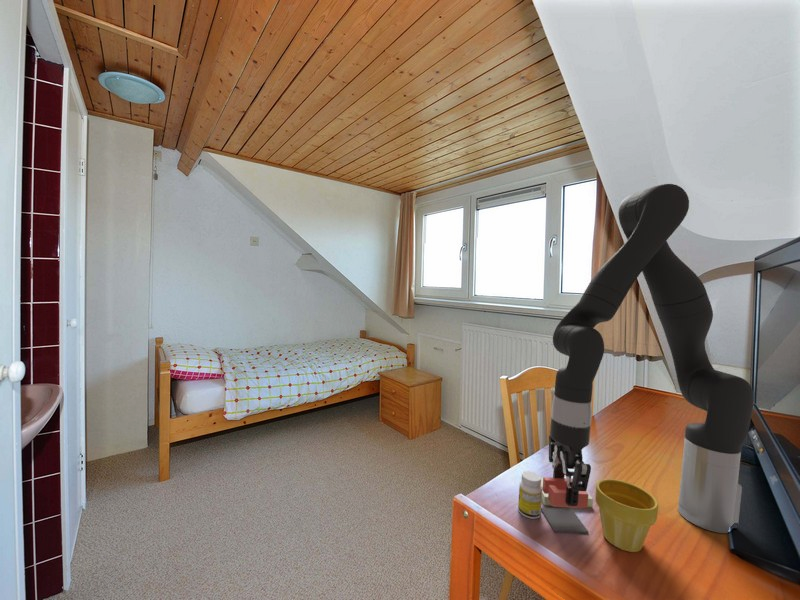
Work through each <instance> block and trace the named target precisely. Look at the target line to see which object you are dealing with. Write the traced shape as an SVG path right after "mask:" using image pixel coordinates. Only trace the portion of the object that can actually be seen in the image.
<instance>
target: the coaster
mask: <svg viewBox="0 0 800 600" xmlns="http://www.w3.org/2000/svg"><path fill="white" fill-rule="evenodd" d="M541 513H542V514H543V516H544V518H545V519H546V521H547V522H548V524H549V526H550V527H551V529H552V530H553V532H554V533H565V534H566V533H568V534H569V533H570V534H589V530H588V529H587V528H586V526H585V525H584V523H583V522H582V520H581V519H580V518H579V517H578V515H577V514H576V513H575V511H574V510H573V508H563V507H541Z"/></svg>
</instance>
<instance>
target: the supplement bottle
mask: <svg viewBox="0 0 800 600" xmlns="http://www.w3.org/2000/svg"><path fill="white" fill-rule="evenodd" d="M520 479H521V480H520V482H519V486H518V487H519V488H518V489H519V490H518V493H519V494H518V507H517V509H518V512H519V513H520V515H522V516H523V517H525V518H528V519H532V520H536V519H538V518H540V517H541V513H542V511H541V508H542V486H541V476H540V474H539V473H536V472H535V471H532V470H531V471H530V470H525V471H523V472H522V473H521V478H520Z"/></svg>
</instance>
